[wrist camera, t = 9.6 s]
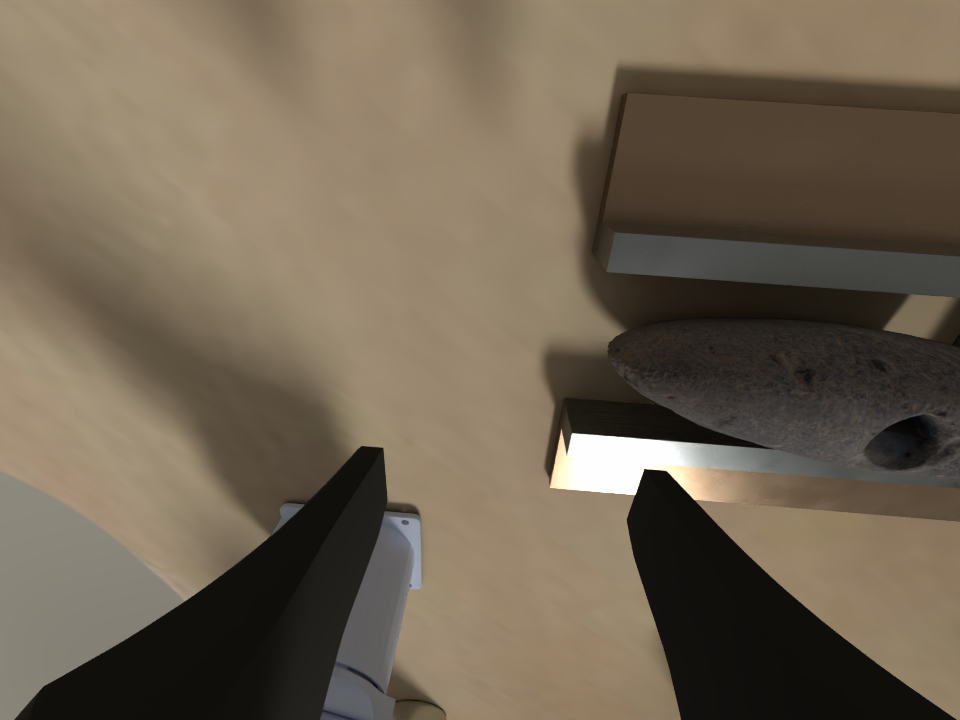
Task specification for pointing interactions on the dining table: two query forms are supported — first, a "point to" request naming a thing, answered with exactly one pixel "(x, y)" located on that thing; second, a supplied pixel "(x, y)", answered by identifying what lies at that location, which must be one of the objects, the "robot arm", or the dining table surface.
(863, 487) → the brown tray
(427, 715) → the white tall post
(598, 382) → the dining table surface
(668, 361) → the perforated stone tool
